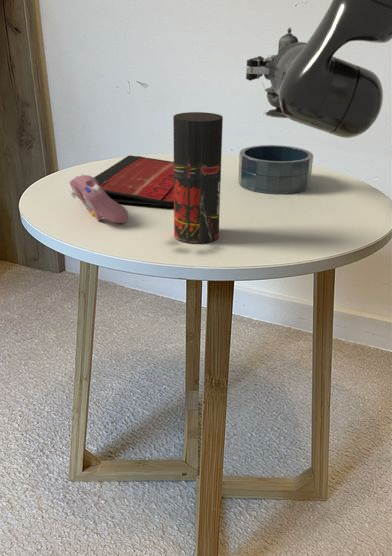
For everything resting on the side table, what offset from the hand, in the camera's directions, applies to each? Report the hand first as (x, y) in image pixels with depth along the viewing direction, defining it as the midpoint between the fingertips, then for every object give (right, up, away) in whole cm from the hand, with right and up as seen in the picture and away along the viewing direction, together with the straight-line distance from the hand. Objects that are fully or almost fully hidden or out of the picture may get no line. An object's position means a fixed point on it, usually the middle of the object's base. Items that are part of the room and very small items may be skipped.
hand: (283, 63), depth 92 cm
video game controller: (-27, -25, -6) cm, 38 cm away
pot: (0, -16, +9) cm, 18 cm away
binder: (-21, -17, +7) cm, 28 cm away
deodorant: (-13, -29, -12) cm, 34 cm away
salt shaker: (0, -8, +1) cm, 8 cm away
